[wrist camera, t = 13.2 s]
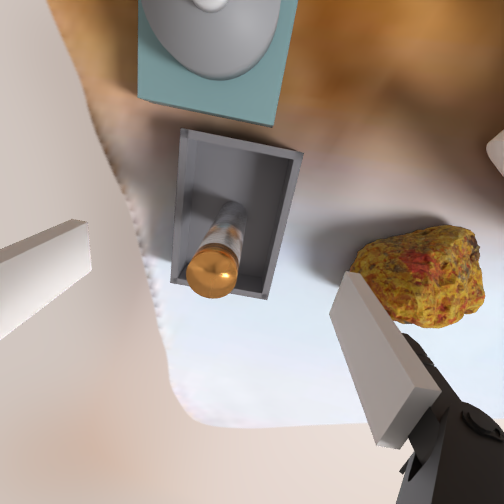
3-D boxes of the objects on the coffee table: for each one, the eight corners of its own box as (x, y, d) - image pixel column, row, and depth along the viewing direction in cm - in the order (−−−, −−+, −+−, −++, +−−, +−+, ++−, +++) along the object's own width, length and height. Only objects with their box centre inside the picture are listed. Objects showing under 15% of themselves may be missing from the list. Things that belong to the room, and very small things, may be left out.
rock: (384, 208, 28) (510, 220, 21) (384, 267, 32) (489, 294, 25) (329, 264, 23) (474, 307, 16) (338, 326, 27) (454, 382, 20)
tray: (192, 130, 22) (180, 127, 19) (297, 151, 22) (303, 152, 19) (181, 265, 27) (170, 282, 24) (266, 281, 27) (267, 300, 24)
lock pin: (221, 199, 24) (188, 249, 12) (249, 204, 24) (240, 258, 13) (218, 225, 25) (184, 293, 14) (244, 230, 25) (232, 302, 14)
